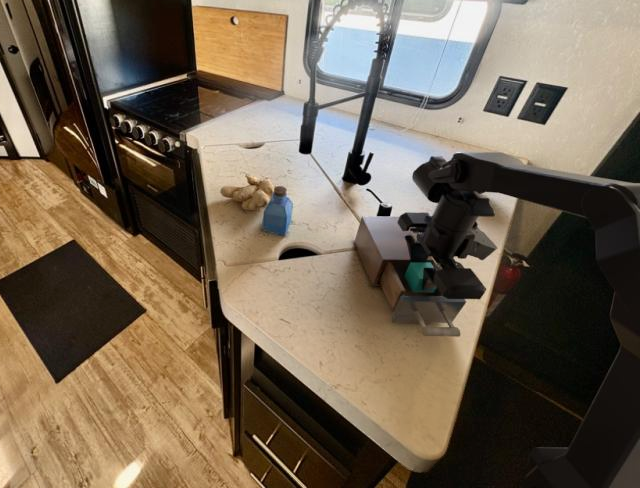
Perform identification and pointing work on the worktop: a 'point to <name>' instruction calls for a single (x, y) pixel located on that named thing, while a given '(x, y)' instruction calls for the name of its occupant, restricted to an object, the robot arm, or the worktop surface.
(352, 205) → the worktop surface
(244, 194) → the ginger root
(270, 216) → the perfume bottle
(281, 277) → the worktop surface
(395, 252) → the drawer cabinet
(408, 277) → the teal block
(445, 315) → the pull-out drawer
